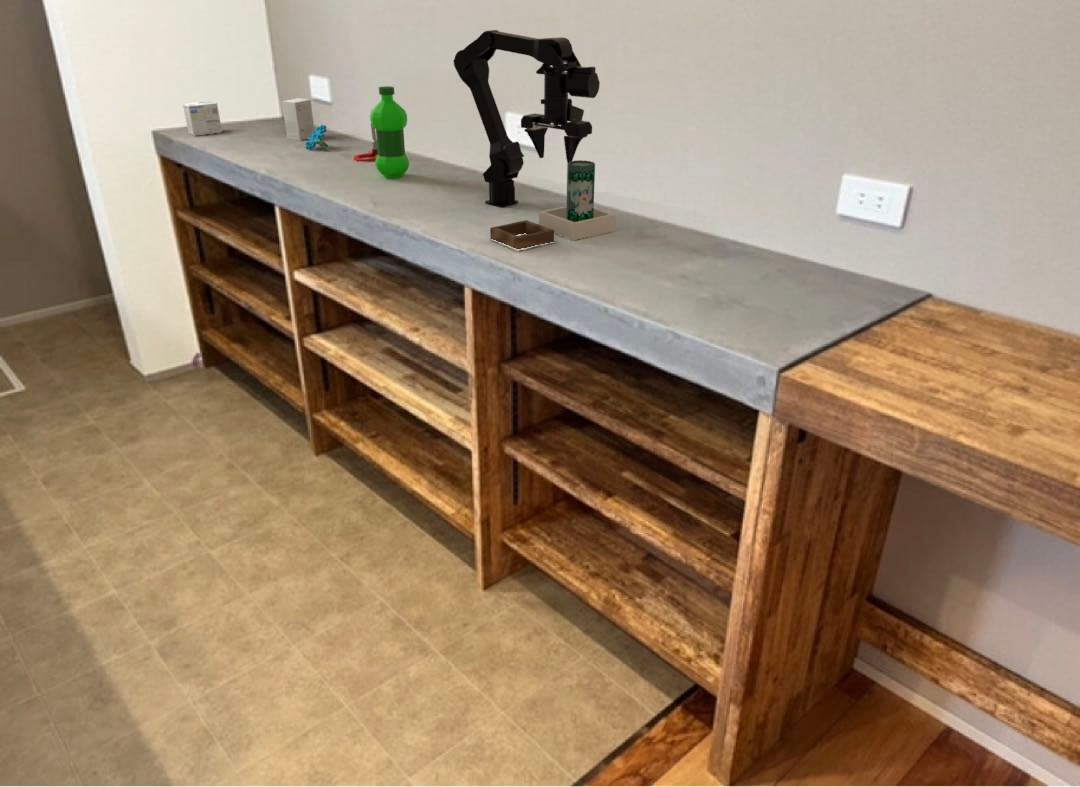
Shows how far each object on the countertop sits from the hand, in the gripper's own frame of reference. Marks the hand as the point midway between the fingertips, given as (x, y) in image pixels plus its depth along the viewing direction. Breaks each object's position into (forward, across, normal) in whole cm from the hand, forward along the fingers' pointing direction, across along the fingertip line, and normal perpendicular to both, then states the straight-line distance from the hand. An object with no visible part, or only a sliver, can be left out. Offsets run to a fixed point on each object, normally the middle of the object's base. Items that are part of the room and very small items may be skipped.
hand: (555, 160), depth 207 cm
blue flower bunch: (+13, +111, -5) cm, 112 cm away
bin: (+13, -14, +8) cm, 21 cm away
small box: (+13, +131, -12) cm, 132 cm away
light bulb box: (+13, +164, +7) cm, 165 cm away
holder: (+13, -11, +24) cm, 29 cm away
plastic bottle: (+13, +61, +3) cm, 62 cm away
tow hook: (+13, +86, -7) cm, 87 cm away
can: (+12, -15, +8) cm, 21 cm away
